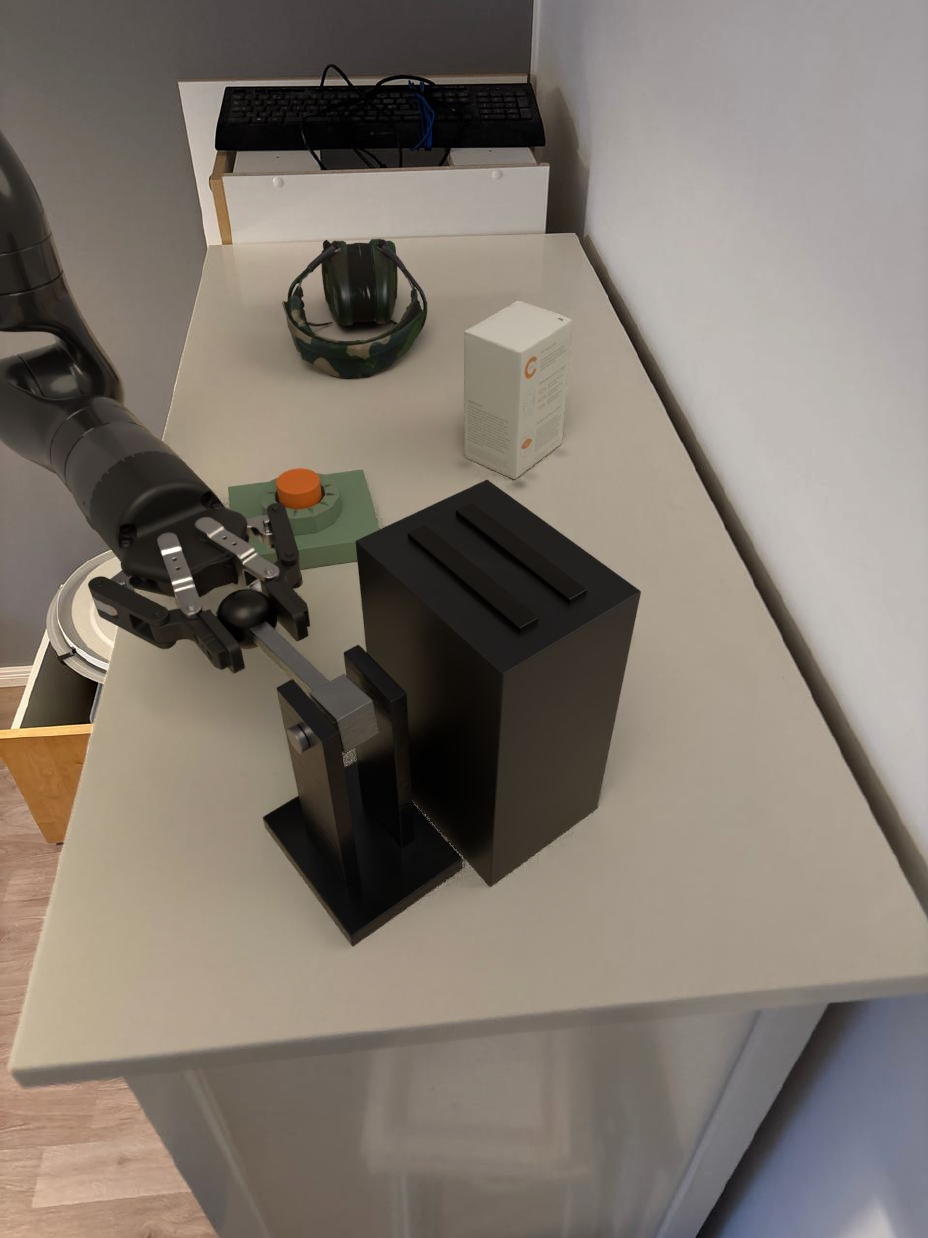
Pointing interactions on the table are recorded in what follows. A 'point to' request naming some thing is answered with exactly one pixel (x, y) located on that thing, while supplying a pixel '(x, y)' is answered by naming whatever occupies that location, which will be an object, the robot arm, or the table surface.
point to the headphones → (356, 308)
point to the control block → (316, 518)
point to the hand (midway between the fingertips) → (270, 644)
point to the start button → (299, 488)
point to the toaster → (498, 668)
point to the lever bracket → (357, 809)
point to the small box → (515, 387)
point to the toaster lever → (299, 666)
